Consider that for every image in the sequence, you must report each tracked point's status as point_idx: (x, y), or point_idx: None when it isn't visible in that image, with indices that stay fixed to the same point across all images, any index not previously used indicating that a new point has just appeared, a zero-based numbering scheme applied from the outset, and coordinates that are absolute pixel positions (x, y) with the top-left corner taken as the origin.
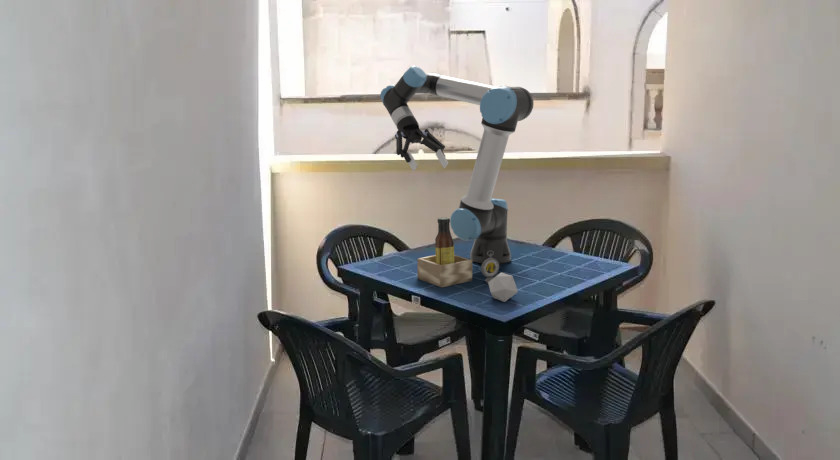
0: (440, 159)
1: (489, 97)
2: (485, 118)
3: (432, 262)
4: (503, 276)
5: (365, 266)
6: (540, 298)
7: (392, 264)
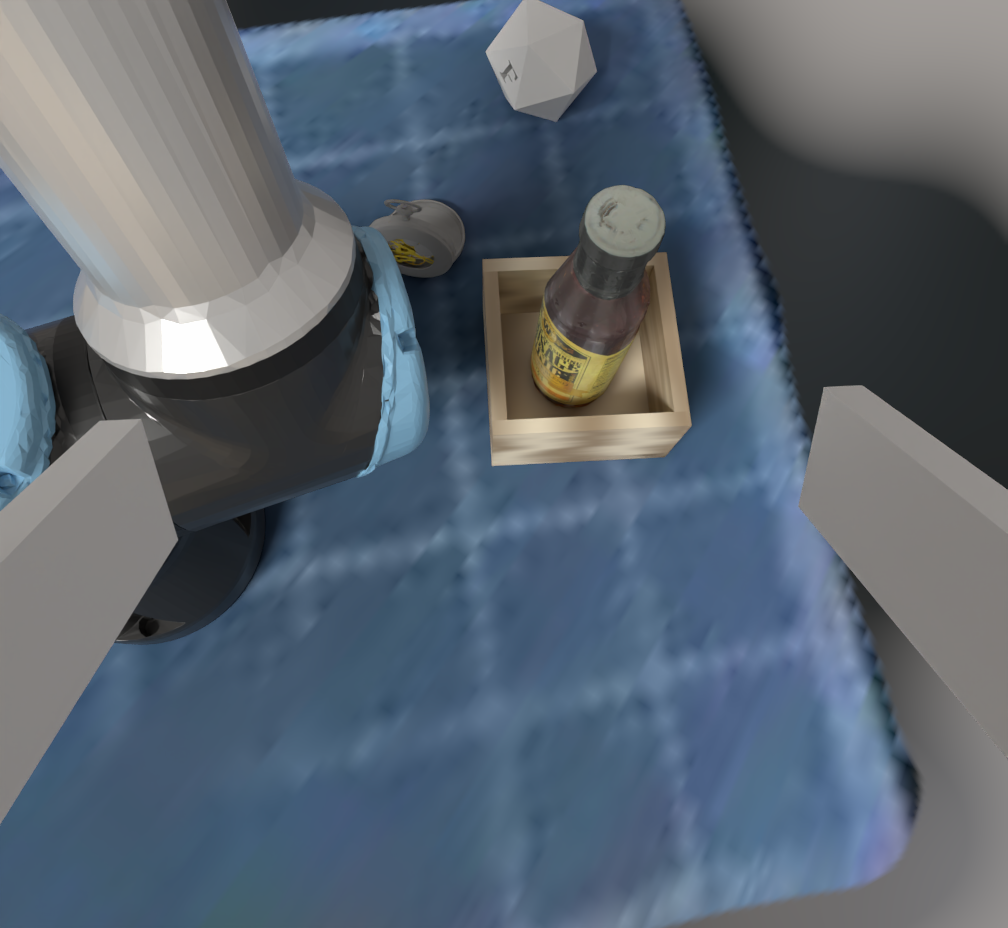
0: (88, 613)
1: None
2: None
3: (667, 325)
4: (556, 9)
5: (791, 806)
6: (427, 43)
7: (644, 755)
